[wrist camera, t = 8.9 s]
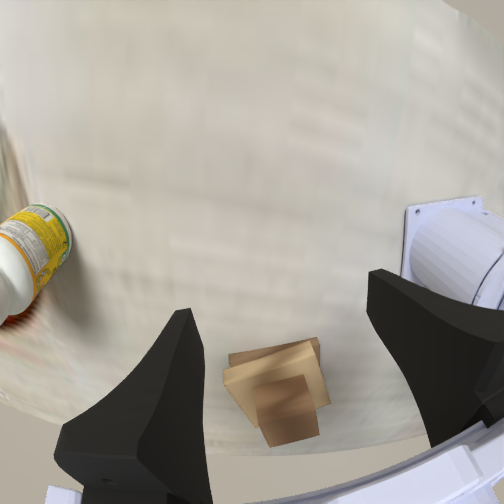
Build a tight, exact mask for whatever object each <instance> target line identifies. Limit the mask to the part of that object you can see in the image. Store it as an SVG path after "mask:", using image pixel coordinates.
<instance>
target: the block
mask: <svg viewBox="0 0 504 504" xmlns="http://www.w3.org/2000/svg"><path fill="white" fill-rule="evenodd" d="M252 388H253V394H254V400H255V407H256V413H257V419H258V425H259V427H260V429H261V431H262V433H263V435H264V437H265V439H266V441H267V443H268V445H269V447H275V446H279V445H283V444H287V443H291V442H295V441H299V440H303V439H307V438H310V437H314V436H317V435H319V429H318V422H317V416H316V410H315V407H314V404H313V401H312V398H311V395H310V392H309V389H308V386H307V383H306V380H305V377H304V374H301V375H298V376H294V377H291V378H287V379H283V380H279V381H275V382H272V383H268V384H264V385H259V386H255V387H252Z"/></svg>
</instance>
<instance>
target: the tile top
mask: <svg viewBox="0 0 504 504" xmlns="http://www.w3.org/2000/svg"><path fill="white" fill-rule="evenodd" d="M301 374H304V377H305V380H306V383H307V386H308V389H309V392H310V395H311V398H312V401H313V404H314V407H315V409H317V408H320V407H322V406H325V405H328V404H330V403H331V402H330V399H329V395H328V392H327V389H326V386H325V383H324V380H323V377H322V374H321V370H320V367H319V364H318V361H317V358H316V355H315V353H314V350H313V348H312V345H311V343H310V341H307V342H304V343H302V344H299V345H296V346H294V347H291V348H288V349H285V350H282V351H280V352H277V353H274V354H271V355H268V356H265V357H262V358H259V359H256V360H253V361H250V362H247V363H244V364H241V365H238V366H235V367H231V368H228V369H225V370H223V381H224V386H225V387H226V389H227V390H228V392H229V393H230V394H231V396H232V397H233V399H234V400H235V401H236V403H237V404H238V405H239V407H240V408H241V409H242V411H243V412H244V413H245V415H246V416H247V417H248V419H249V420H250V421H251V423H252V424H253V425H254V427H255V428H257V427H259V425H258V419H257V413H256V407H255V400H254V394H253V388H252V387H255V386H259V385H264V384H268V383H272V382H275V381H279V380H283V379H287V378H291V377H294V376H298V375H301Z"/></svg>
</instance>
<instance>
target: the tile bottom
mask: <svg viewBox="0 0 504 504" xmlns="http://www.w3.org/2000/svg"><path fill="white" fill-rule="evenodd" d="M307 341H310V343H311V345H312V348H313V350H314V353H315V355H316V358H317V361H318V364H319V367H320V344H319V342H318V339H317V337H315V338H311V339H306V340H302V341H297V342H293V343H288V344H283V345H278V346H273V347H268V348H262V349H257V350H251V351H246V352H240V353H234V354H229V364H230V367H235V366H238V365H241V364H244V363H247V362H250V361H253V360H256V359H259V358H262V357H265V356H268V355H271V354H274V353H277V352H280V351H282V350H285V349H288V348H291V347H294V346H296V345H299V344H302V343H304V342H307Z"/></svg>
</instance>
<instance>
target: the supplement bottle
mask: <svg viewBox="0 0 504 504" xmlns="http://www.w3.org/2000/svg"><path fill="white" fill-rule="evenodd" d="M71 244H72V238H71V231H70V228H69V225H68V223H67V221H66V220H65V218H64V216H63V215H62V214H61V213H60V212H59V211H58V210H57V209H56V208H54V207H53V206H51V205H49V204H45V203H35V204H31V205H30V206H28V207H26V208H25V209H23V210H21V211H20V212H18V213H17V214H15V215H14V216H12V217H10V218H9V219H7V220H6V221H5V222H3V223H2V224H0V325H1V324H2V323H3V321H4V320H5V319H6V318H7V316H8V315H15V314H19V313H21V312H23V311H24V310H25V309H26V308H27V307H28V306H29V305H30V303H31V302H32V301H33V300H34V298H35V297H36V296H37V294H38V293H39V292H40V291H41V289H42V288H43V287H44V286H45V284H46V283H47V282H48V281H49V280H50V279H51V277H52V276H53V275H54V274H55V272H56V271H57V270H58V269H59V268H60V267H61V265H62V264H63V263H64V262H65V260H66V259H67V257H68V255H69V252H70V249H71Z"/></svg>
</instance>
